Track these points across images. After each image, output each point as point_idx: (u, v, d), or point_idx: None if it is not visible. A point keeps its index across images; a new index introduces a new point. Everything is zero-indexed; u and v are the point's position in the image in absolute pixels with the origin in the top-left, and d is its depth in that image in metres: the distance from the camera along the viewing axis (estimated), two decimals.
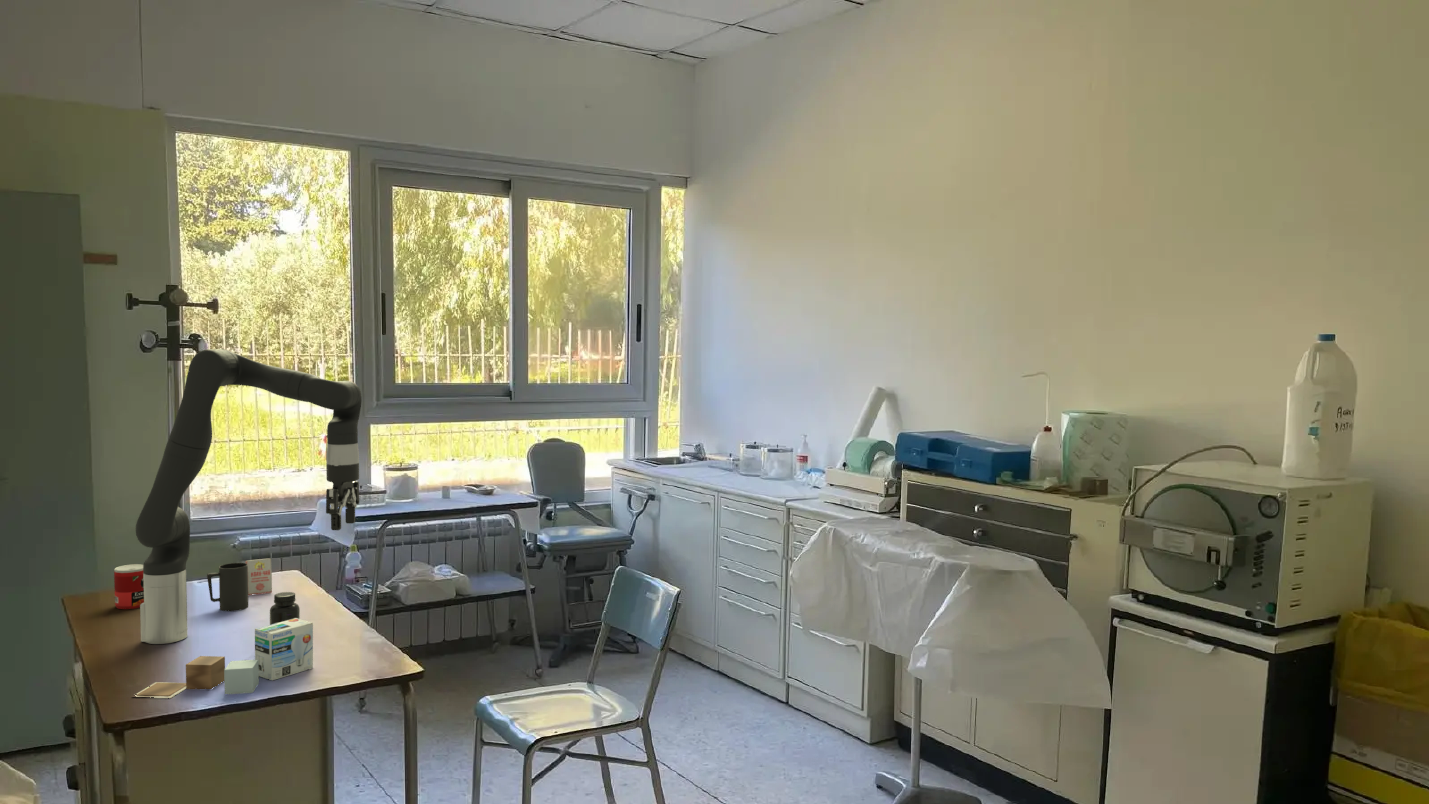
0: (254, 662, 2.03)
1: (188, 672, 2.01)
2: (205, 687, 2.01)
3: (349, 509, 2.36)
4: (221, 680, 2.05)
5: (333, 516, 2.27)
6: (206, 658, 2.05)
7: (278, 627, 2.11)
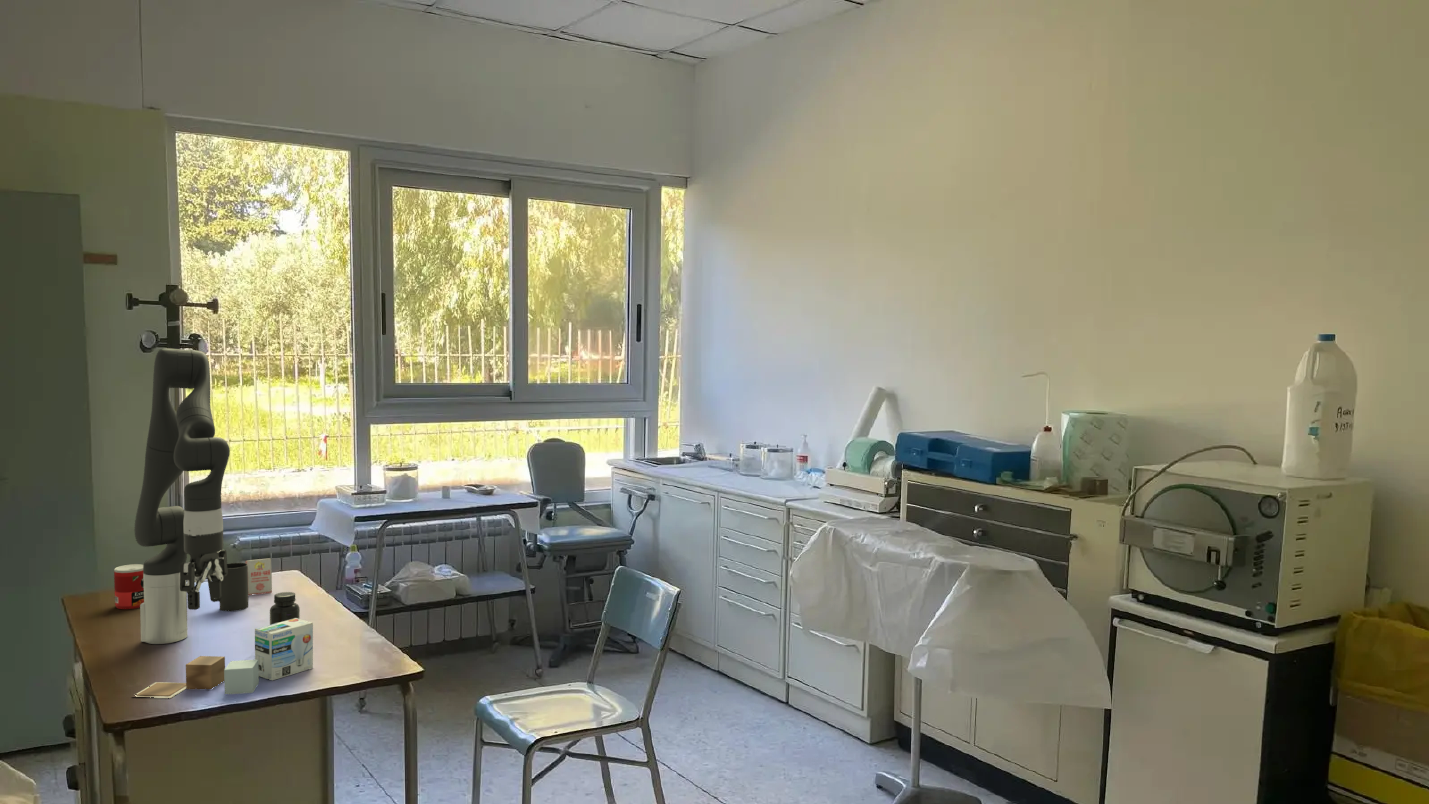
0: (254, 662, 2.03)
1: (188, 672, 2.01)
2: (205, 687, 2.01)
3: (214, 582, 2.07)
4: (221, 680, 2.05)
5: (189, 594, 1.98)
6: (206, 658, 2.05)
7: (278, 627, 2.11)
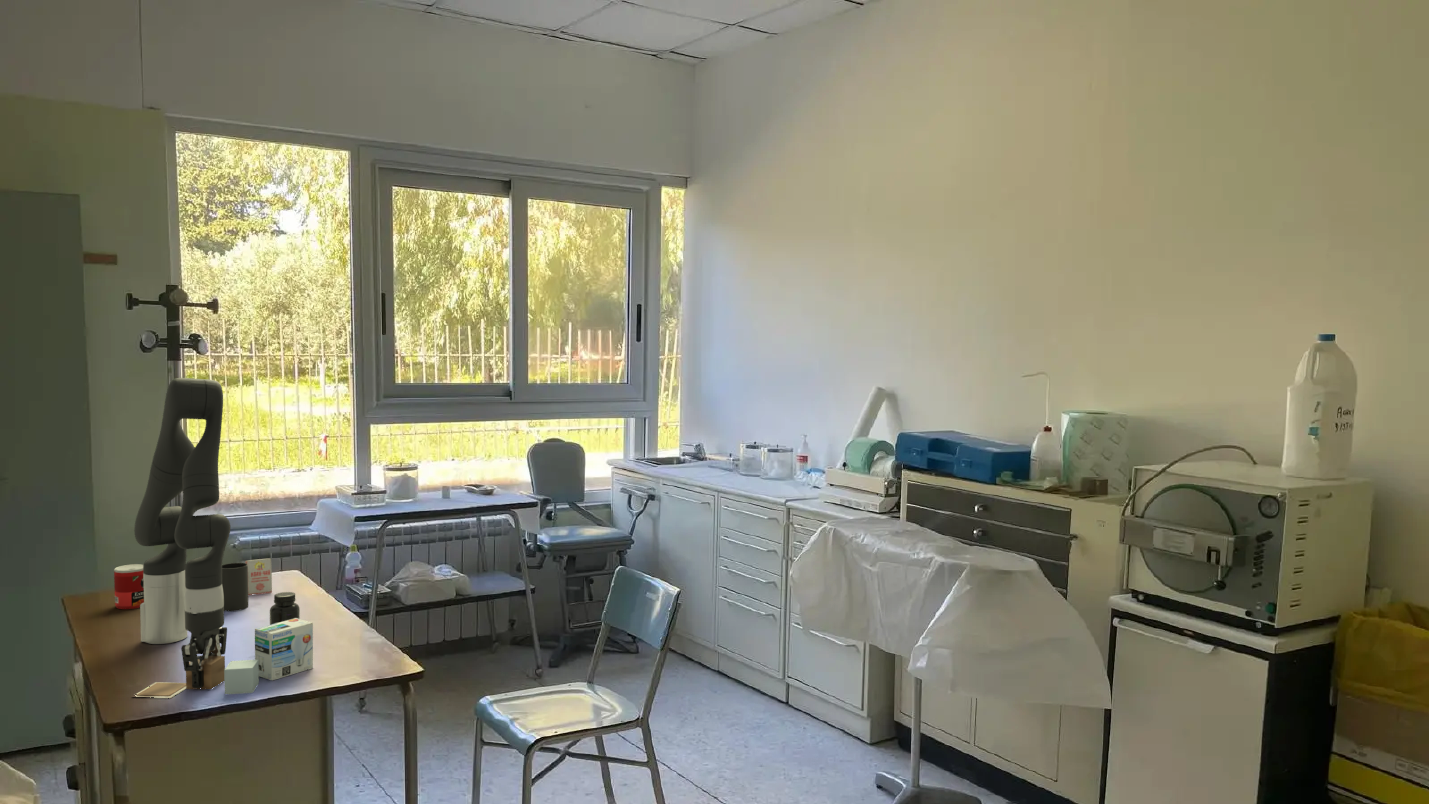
0: (254, 662, 2.03)
1: (188, 671, 2.01)
2: (205, 686, 2.01)
3: None
4: (221, 680, 2.05)
5: (193, 673, 2.00)
6: None
7: (278, 627, 2.11)
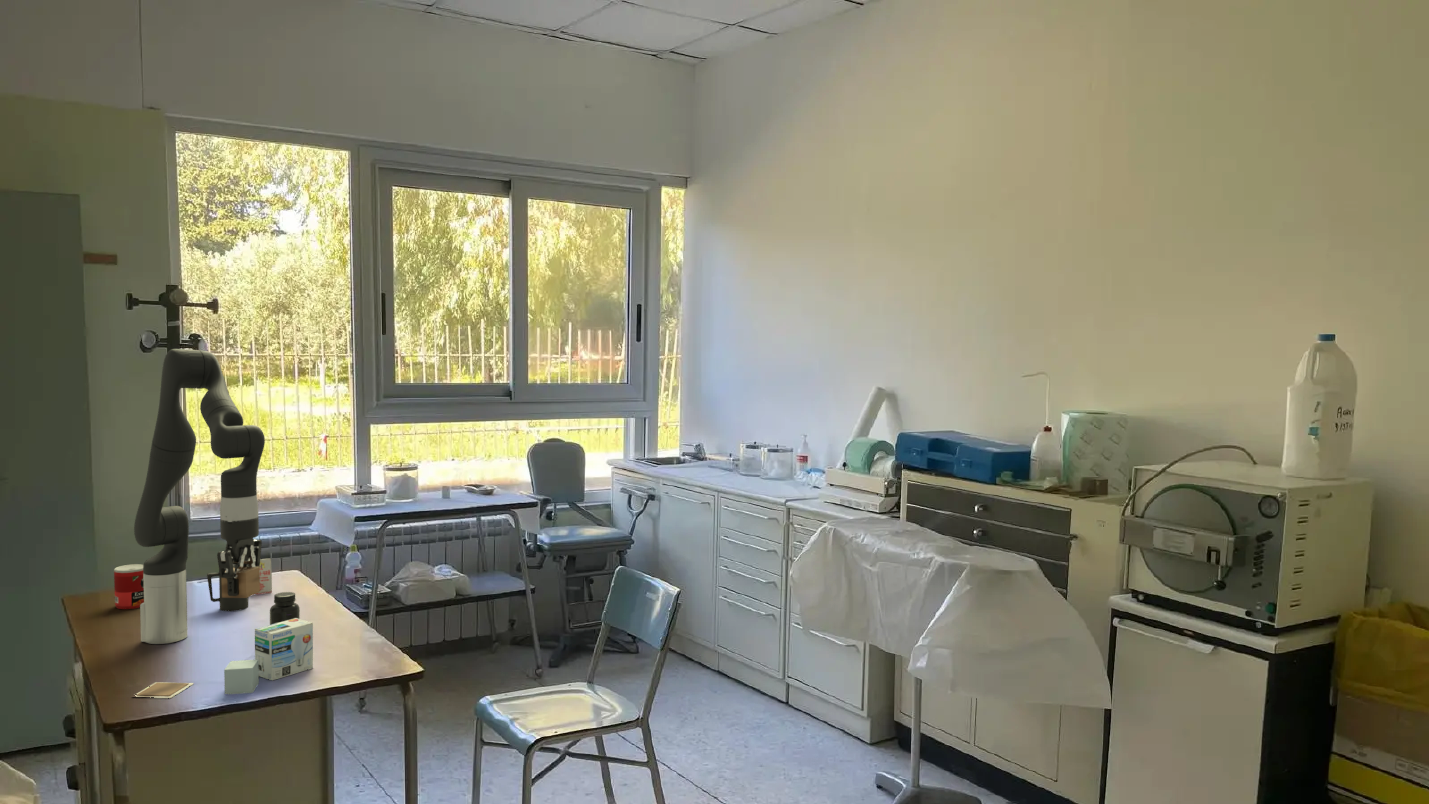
0: (254, 662, 2.03)
1: (223, 580, 2.04)
2: (240, 595, 2.04)
3: None
4: (256, 590, 2.08)
5: (229, 581, 2.02)
6: (241, 568, 2.08)
7: (278, 627, 2.11)
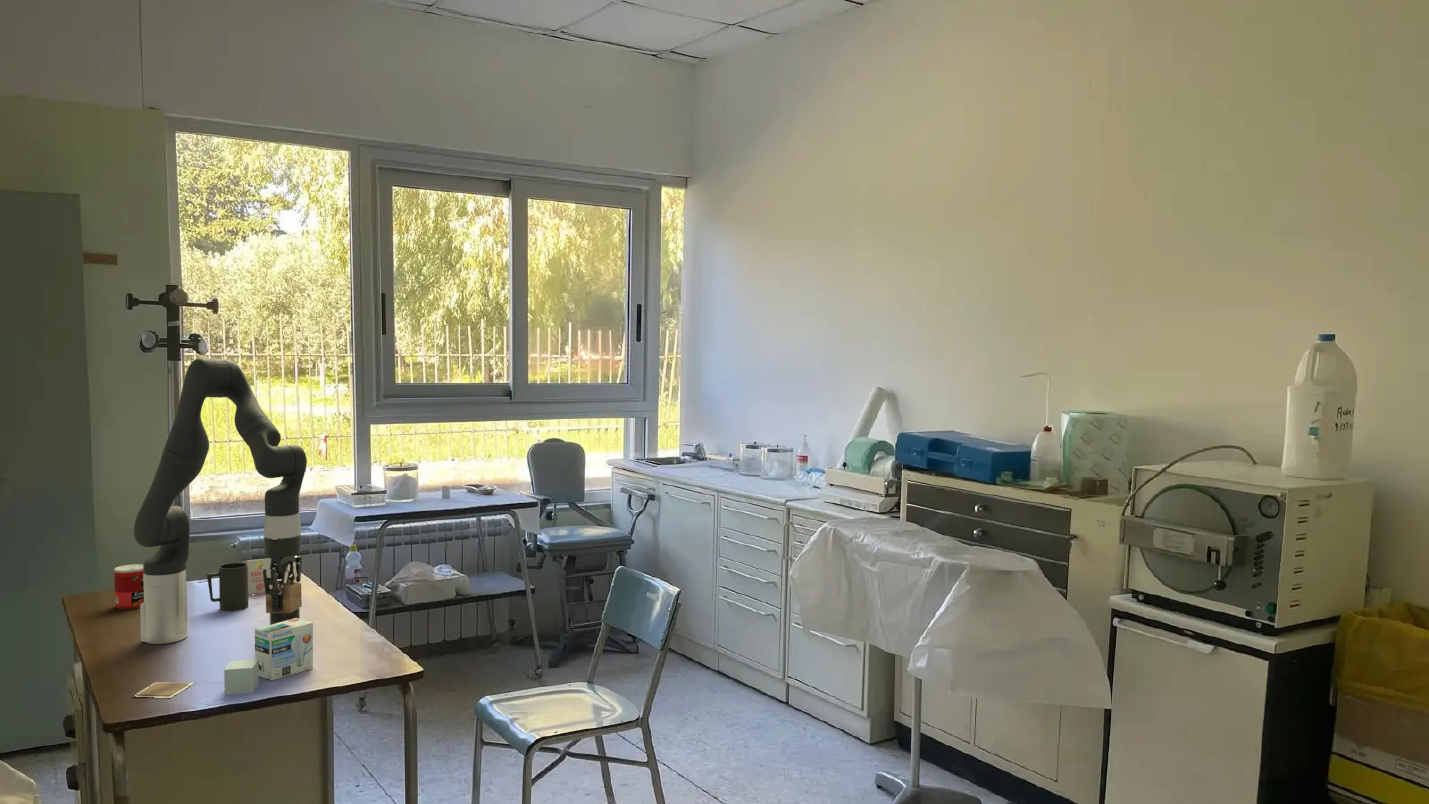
0: (254, 662, 2.03)
1: (267, 595, 2.09)
2: (284, 610, 2.09)
3: None
4: (298, 605, 2.13)
5: (273, 597, 2.08)
6: None
7: (278, 627, 2.11)
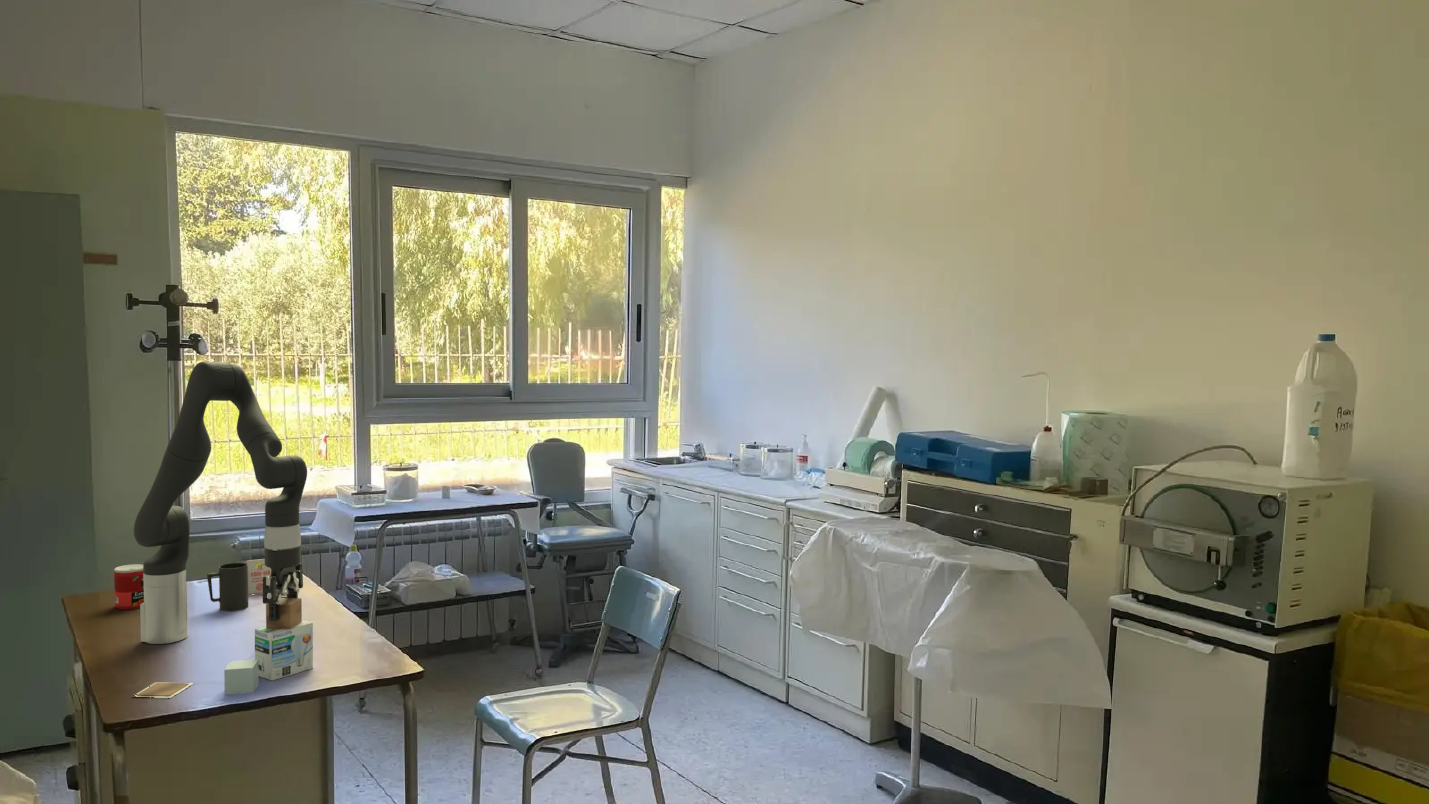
0: (254, 662, 2.03)
1: (268, 611, 2.10)
2: (284, 626, 2.10)
3: (291, 594, 2.16)
4: (298, 620, 2.14)
5: (271, 606, 2.07)
6: (284, 599, 2.13)
7: None
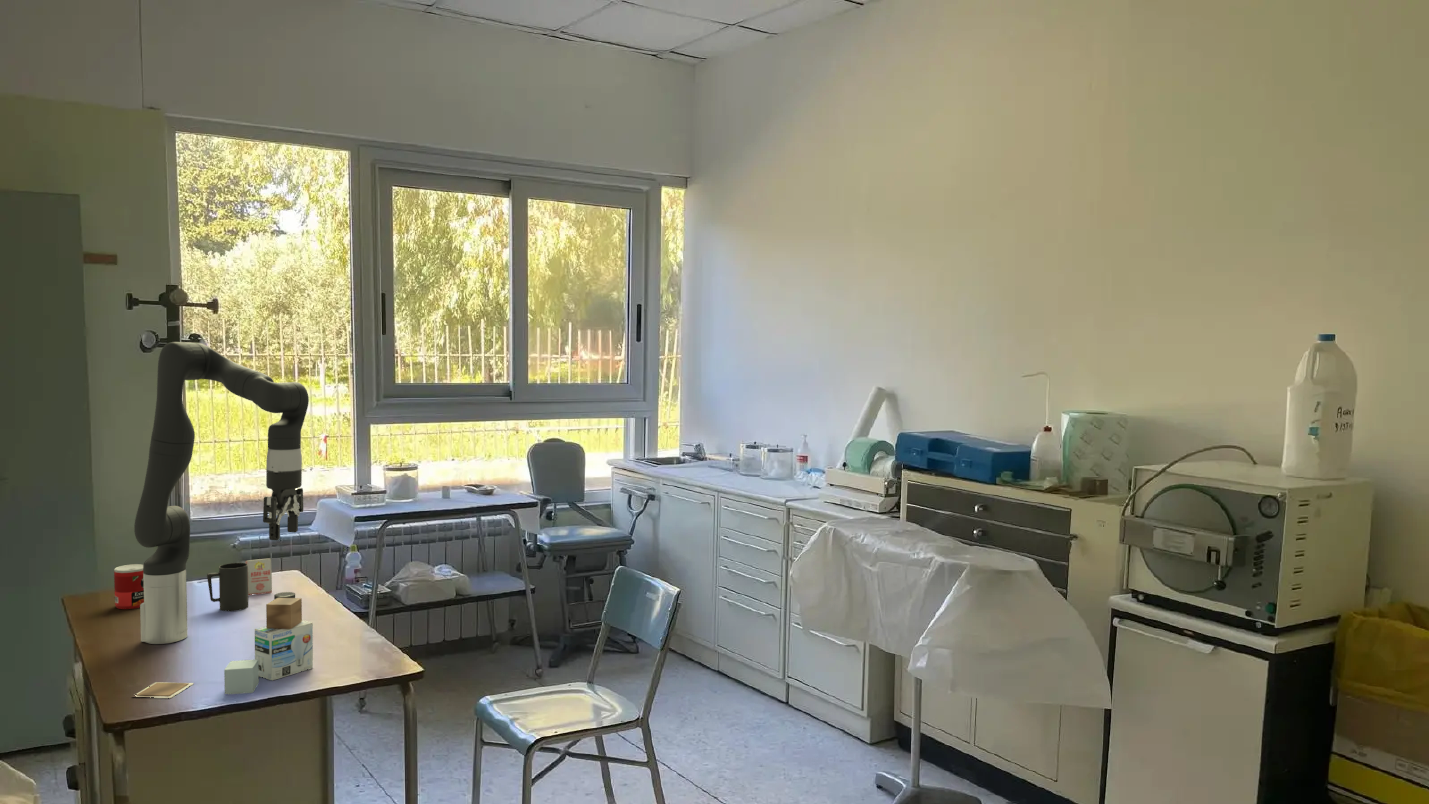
0: (254, 662, 2.03)
1: (268, 611, 2.10)
2: (285, 626, 2.10)
3: (291, 517, 2.23)
4: (298, 620, 2.14)
5: (271, 525, 2.14)
6: (284, 599, 2.13)
7: None
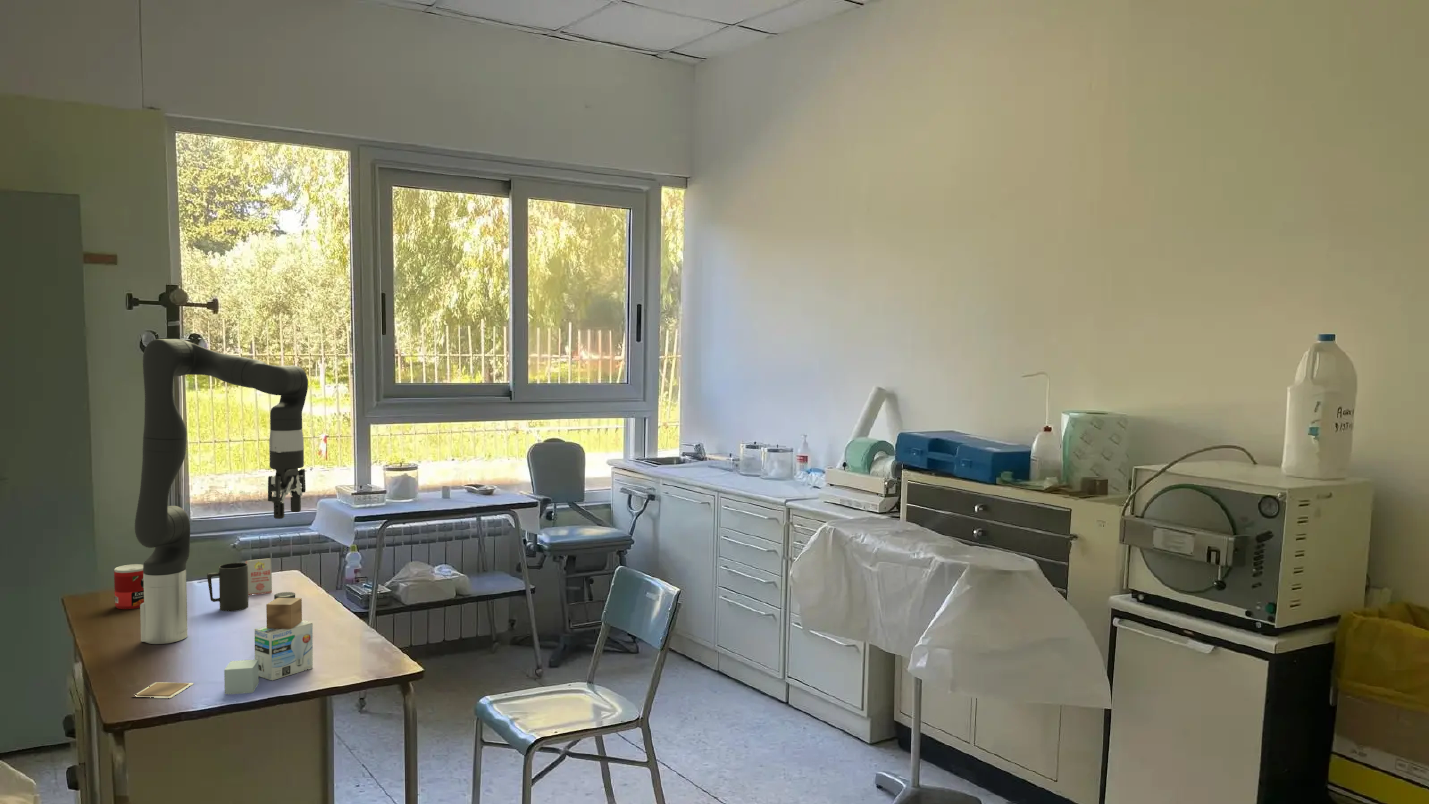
0: (254, 662, 2.03)
1: (268, 611, 2.09)
2: (285, 626, 2.10)
3: (294, 497, 2.30)
4: (299, 620, 2.14)
5: (275, 504, 2.20)
6: (284, 599, 2.13)
7: None
